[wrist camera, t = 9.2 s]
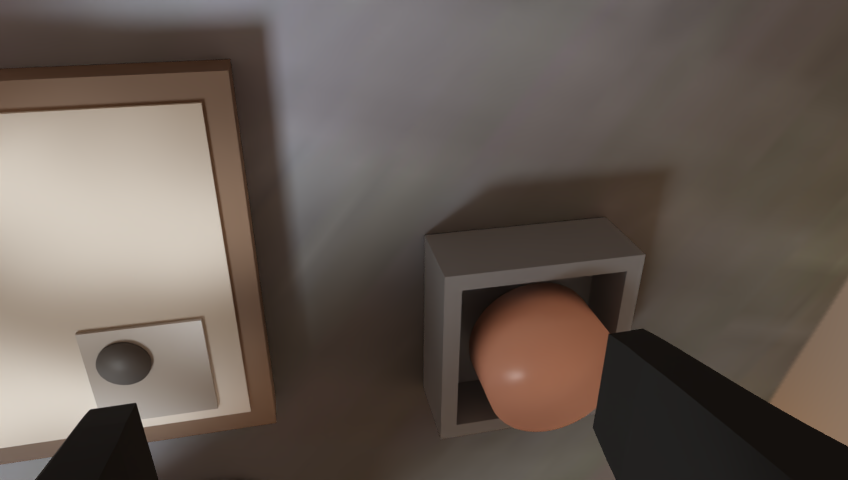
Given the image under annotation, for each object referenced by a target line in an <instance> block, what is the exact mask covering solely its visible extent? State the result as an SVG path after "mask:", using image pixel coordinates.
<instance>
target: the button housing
mask: <svg viewBox="0 0 848 480" xmlns="http://www.w3.org/2000/svg"><path fill="white" fill-rule="evenodd" d="M645 255H646V254H644V253H643V252H642V251H641V250H640V249H639V248H638V247H637V246H636V245H635V244H634V243H633V242H632V241H631V240H630V239H628V238H627V237H626V236H625V235H624V234H623V233H622V232H621V231H620V230H619V229H618V228H617V227H616V226H615V225H614V224H612V223H611V222H610V221H609V220H608V219H607V218H606V217H602V218H592V219H582V220H572V221H562V222H552V223H542V224H532V225H522V226H512V227H502V228H492V229H481V230H471V231H461V232H451V233H441V234H431V235H425V247H424V366H423V388H424V391H425V394H426V397H427V400H428V403H429V406H430V409H431V412H432V415H433V418H434V421H435V424H436V427H437V430H438V433H439V436H440V439H446V438H452V437H458V436H465V435H471V434H477V433H483V432H489V431H495V430H501V429H507V428H513V427H511V426H509V425H507V424H505V423H504V422H503V421H502V420H500V419H499V417H498V416H497V415H496V414H495V412H494V411H493V409H492V407H491V405H490V402H489V400H488V398H487V396H486V394H485V391H484V389H483V387H482V385H481V382H480V380H479V378H478V376H477V374H476V371H475V369H474V367H473V365H472V362H471V360H470V355H469V340H470V335H471V332H472V329H473V327H474V325H475V323H476V321H477V320H478V318H479V317H480V315H481V314H482V313H483V311H484V310H485V309H486V308H487V307H488V306H489V305H490V304H491V303H492V302H494V301H495V300H496V299H497V298H499V297H500V296H502V295H503V294H505V293H507V292H509V291H511V290H513V289H515V288H518V287H520V286H524V285H527V284H532V283H542V282H547V283H556V284H560V285H563V286H566V287H568V288H570V289H572V290H573V291H575V292H576V293H577V294H578V295H579V296H580V297H581V298H582V299H583V300H584V301H585V303H586V304H587V305H588V306H589V308H590V309H591V310H592V311H593V313H594V314H595V315H596V316H597V318H598V319H599V320H600V321H601V323H602V324H603V325H604V326H605V328H606V329H607V330H608V332H609V333H617V332H624V331H631V327H632V322H633V317H634V311H635V306H636V301H637V296H638V291H639V286H640V281H641V276H642V271H643V265H644V260H645ZM595 412H596V408H595V409H594V410H593V411H592V412H590V413H589V414H588V415H593V414H595Z"/></svg>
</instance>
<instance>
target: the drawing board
mask: <svg viewBox="0 0 848 480" xmlns="http://www.w3.org/2000/svg"><path fill="white" fill-rule="evenodd" d="M130 403H136V404H137V407H138V411H139V414H140V418H141V421H142V425H143V428H144V432H145V435H146V439H147V442H153V441H160V440H166V439H173V438H180V437H186V436H193V435H200V434H206V433H213V432H219V431H226V430H233V429H239V428H246V427H252V426H259V425H266V424H272V423H276V396H275V389H274V382H273V374H272V367H271V359H270V352H269V344H268V337H267V329H266V322H265V315H264V307H263V300H262V292H261V285H260V277H259V270H258V262H257V255H256V247H255V240H254V233H253V225H252V218H251V210H250V203H249V195H248V188H247V180H246V173H245V165H244V158H243V151H242V143H241V136H240V128H239V121H238V113H237V106H236V98H235V91H234V83H233V76H232V69H231V61H230V59H223V60H199V61H175V62H151V63H127V64H103V65H79V66H55V67H31V68H6V69H0V465H1V464H8V463H14V462H21V461H27V460H34V459H41V458H47V457H53V456H54V454H55V453H56V452H57V450H58V449H59V448H60V446H61V445H62V444H63V443H64V441H65V440H66V439H67V437H68V436H69V435H70V433H71V432H72V431H73V429H74V428H75V427H76V425H77V424H78V423H79V422H80V420H81V419H82V418H83V417H84V415H85V414H86V413H87V412H88V411H89V410H90V409H96V408H103V407H110V406H117V405H123V404H130Z"/></svg>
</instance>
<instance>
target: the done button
mask: <svg viewBox="0 0 848 480" xmlns="http://www.w3.org/2000/svg"><path fill="white" fill-rule="evenodd" d="M608 334H610V333H609V332H608V330H607V329H606V328H605V326H604V325H603V324H602V323H601V321H600V320H599V319H598V318H597V316H596V315H595V314H594V313H593V311H592V310H591V309H590V308H589V306H588V305H587V304H586V303H585V301H584V300H583V299H582V298H581V297H580V296H579V295H578V294H577V293H576V292H575V291H573V290H572V289H570V288H568V287H566V286H563V285H560V284H556V283H547V282H542V283H532V284H527V285H524V286H520V287H518V288H515V289H513V290H511V291H509V292H507V293H505V294H503V295H502V296H500V297H499V298H497V299H496V300H495V301H494V302H492V303H491V304H490V305H489V306H488V307H487V308H486V309H485V310H484V311H483V313H482V314H481V315H480V317H479V318H478V320H477V321H476V323H475V325H474V327H473V329H472V332H471V335H470V340H469V355H470V360H471V362H472V365H473V367H474V369H475V371H476V374H477V376H478V378H479V380H480V382H481V385H482V387H483V389H484V391H485V394H486V396H487V398H488V400H489V402H490V405H491V407H492V409H493V411H494V412H495V414H496V415H497V416H498V417H499V419H500V420H502V421H503V422H504V423H505V424H507V425H509V426H511V427H513V428H516V429H519V430H523V431H530V432H542V431H550V430H554V429H558V428H562V427H565V426H567V425H570V424H572V423H574V422H576V421H578V420H580V419H581V418H583V417H585V416H586V415H588V414H589V413H590V412H592V411H593V410H594V409H595V408H596V406H597V400H598V394H599V388H600V382H601V376H602V370H603V364H604V358H605V352H606V346H607V340H608Z"/></svg>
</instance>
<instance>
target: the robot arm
mask: <svg viewBox="0 0 848 480" xmlns="http://www.w3.org/2000/svg"><path fill="white" fill-rule="evenodd" d="M593 429H594V431H595V434H596V436H597V438H598V441H599V443H600V445H601V448H602V450H603V452H604V455H605V457H606V459H607V461H608V464H609V466H610V468H611V470H612V472H613V474H614V476H615V478H616V480H848V447H847V446H846V445H844V444H842V443H840V442H838V441H837V440H835V439H833V438H831V437H829V436H827V435H825V434H823V433H822V432H820V431H818V430H816V429H814V428H812V427H810V426H809V425H807V424H805V423H803V422H801V421H800V420H798V419H796V418H794V417H793V416H791V415H789V414H787V413H785V412H784V411H782V410H780V409H778V408H777V407H775V406H773V405H772V404H770V403H768V402H766V401H765V400H763V399H761V398H760V397H758V396H756V395H754V394H753V393H751V392H749V391H748V390H746V389H744V388H743V387H741V386H739V385H738V384H736V383H734V382H733V381H731V380H729V379H728V378H726V377H724V376H723V375H721V374H719V373H718V372H716V371H714V370H713V369H711V368H710V367H708V366H706V365H705V364H703V363H701V362H700V361H698V360H696V359H695V358H693V357H691V356H690V355H688V354H686V353H685V352H683V351H681V350H680V349H678V348H676V347H675V346H673V345H671V344H670V343H668V342H666V341H665V340H663V339H661V338H659V337H658V336H656V335H654V334H652V333H650V332H648V331H646V330H645V329H638V330H631V331H624V332H617V333H610V334H608V340H607V346H606V352H605V358H604V364H603V370H602V376H601V382H600V388H599V394H598V400H597V406H596V412H595V418H594V424H593ZM35 480H158V477H157V473H156V470H155V466H154V463H153V459H152V456H151V452H150V449H149V446H148V442H147V439H146V435H145V432H144V428H143V425H142V421H141V418H140V414H139V411H138V407H137V404H136V403H130V404H123V405H117V406H110V407H103V408H96V409H90V410H89V411H88V412H87V413H86V414H85V415H84V417H83V418H82V419H81V420H80V422H79V423H78V424H77V425H76V427H75V428H74V429H73V431H72V432H71V433H70V435H69V436H68V437H67V439H66V440H65V441H64V443H63V444H62V445H61V446H60V448H59V449H58V450H57V452H56V453H55V454H54V456H53V457H52V458H51V460H50V461H49V462H48V464H47V465H46V466H45V468H44V469H43V470H42V471H41V473H40V474H39V475H38V477H37V478H36V479H35Z"/></svg>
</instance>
